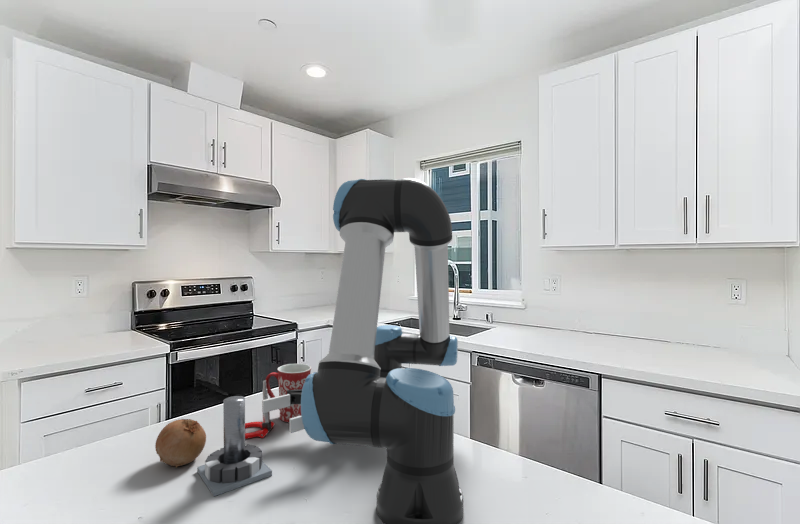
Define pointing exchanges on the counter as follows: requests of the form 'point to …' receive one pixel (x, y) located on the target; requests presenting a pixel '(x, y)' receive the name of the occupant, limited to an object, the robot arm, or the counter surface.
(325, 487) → the counter surface
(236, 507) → the counter surface
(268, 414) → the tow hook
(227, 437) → the steel rod
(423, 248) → the robot arm
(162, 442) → the onion
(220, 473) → the chuck
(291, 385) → the mug
